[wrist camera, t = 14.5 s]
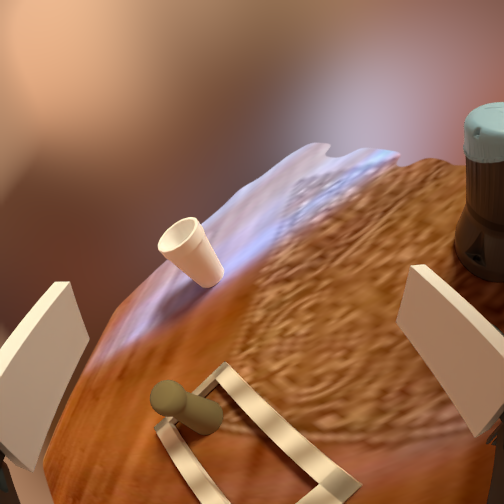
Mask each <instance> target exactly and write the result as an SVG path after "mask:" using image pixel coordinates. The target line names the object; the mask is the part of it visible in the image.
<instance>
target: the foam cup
mask: <svg viewBox="0 0 504 504" xmlns="http://www.w3.org/2000/svg"><path fill="white" fill-rule="evenodd" d="M158 249H159V251H160V252H161V253H162V254H163V256H164V257H165V258H166V259H168V260H170V261H171V262H172V263H173V264H175V265H176V266H177V267H178V268H179V269H180V270H182V271H183V272H184V273H185V274H186V275H188V276H189V277H190V278H191V279H192V280H194V281H195V282H196V283H197V284H198V285H200V286H201V287H203V288H210V287H212V286H214V285H216V284H217V283H218V282H219V281H220V280H221V279H222V277H223V275H224V269H223V267H222V265H221V263H220V261H219V259H218V257H217V256H216V254H215V252H214V250H213V248H212V246H211V244H210V243H209V241H208V239H207V237H206V235H205V233H204V230H203V227H202V226H201V224H200V223H199V222H198V220H197V219H196V218H192V217H189V218H185V219H182V220H180V221H179V222H177V223H175V224H174V225H172V226H171V227H170V228H169V229H168V230H166V232H165V233H164V234H163V236H162V237H161V238H160V241H159V243H158Z"/></svg>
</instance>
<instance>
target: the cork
mask: <svg viewBox="0 0 504 504" xmlns="http://www.w3.org/2000/svg"><path fill="white" fill-rule="evenodd" d="M150 403H151V406H152V407H153V409H154V410H155V411H156V412H157V413H158V414H160V415H162V416H166V417H174V418H175V419H177V420H178V421H180V422H181V423H183V424H184V425H186V426H187V427H189V428H190V429H192V430H193V431H195V432H197V433H198V434H201V435H209V434H211V433H214V432H215V431H216V430H217V429H218V428H219V427H220V425H221V423H222V420H223V411H222V408H221V406H220V405H219V404H218V403H216V402H215V401H212V400H209V399H206V398H203V397H200V396H197V395H194V394H192V393H189V392H186V391H185V389H184V388H183V387H182V386H181V385H180V384H178V383H177V382H175V381H172V380H164V381H161V382H159V383H157V384H156V385H155V386H154V388H153V389H152V391H151V394H150Z"/></svg>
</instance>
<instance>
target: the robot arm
mask: <svg viewBox="0 0 504 504" xmlns="http://www.w3.org/2000/svg"><path fill="white" fill-rule="evenodd" d="M463 149H464V154H465V155H466V205H465V207H464V210H463V212H462V214H461V217H460V219H459V221H458V224H457V227H456V231H455V249H456V253H457V256H458V258H459V259H460V261H461V263H462V264H463V265H464V266H465V267H466V268H467V269H468V270H469V271H470V272H471V273H473V274H474V275H476V276H478V277H480V278H482V279H484V280H488V281H492V282H504V102H496V103H490V104H486V105H482V106H480V107H478V108H476V109H474V110H473V111H472V112H470V113H469V115H468V116H467V117H466V119H465V122H464V146H463ZM396 323H397V325H398V326H399V327H400V329H401V330H402V331H403V333H404V334H405V335H406V337H407V338H408V339H409V341H410V342H411V343H412V345H413V346H414V347H415V349H416V350H417V352H418V353H419V354H420V356H421V357H422V358H423V360H424V361H425V363H426V364H427V366H428V367H429V368H430V370H431V371H432V373H433V374H434V376H435V377H436V378H437V380H438V381H439V383H440V384H441V386H442V387H443V389H444V390H445V392H446V393H447V395H448V396H449V398H450V399H451V401H452V402H453V404H454V405H455V407H456V408H457V410H458V412H459V413H460V415H461V416H462V418H463V419H464V421H465V423H466V424H467V426H468V428H469V429H470V431H471V432H472V434H473V436H474V437H475V438H476V437H477V436H479V435H481V434H482V433H484V432H486V431H487V430H489V429H490V428H491V427H492V426H493V424H494V423H495V422H496V421H497V420H498V418H500V419H501V421H502V422H501V424H500V425H499V426H498V427H497V428H496V429H495V431H494V432H493V433H492V434H491V435H490V436H489V437H488V439H487V442H486V444H489V443H490V442H491V441H492V440H493V439H494V437H495V436H496V435H497V438H496V439H495V440H494V441H493V443H492V445H496V452H495V460H494V468H493V474H492V480H491V485H490V490H489V495H488V500H487V504H504V334H503V333H502V332H501V331H500V330H499V329H498V328H497V327H496V326H494V325H493V324H491V323H489V322H488V321H487V320H486V319H485V318H484V317H483V316H482V315H481V314H480V313H479V312H478V311H477V310H476V309H475V308H474V307H473V306H472V305H470V304H469V303H468V302H467V301H466V300H465V299H464V298H463V297H462V296H461V295H460V294H458V293H457V292H456V291H455V290H454V289H453V288H452V287H450V286H449V285H448V284H447V283H446V282H445V281H444V280H442V279H441V278H440V277H439V276H438V275H437V274H435V273H434V272H433V271H432V270H431V269H429V268H428V267H427V266H426V265H425V264H424V265H413V266H410V270H409V274H408V278H407V282H406V286H405V290H404V294H403V298H402V302H401V306H400V309H399V313H398V316H397V320H396ZM88 341H89V336H88V334H87V331H86V328H85V326H84V323H83V320H82V317H81V314H80V312H79V309H78V306H77V303H76V300H75V297H74V294H73V290H72V287H71V284H70V282H54V284H53V285H52V286H51V287H50V288H49V289H48V290H47V291H46V293H45V294H44V295H43V296H42V297H41V298H40V299H39V301H38V302H37V303H36V304H35V305H34V307H33V308H32V309H31V310H30V311H29V313H28V314H27V315H26V316H25V318H24V319H23V320H22V321H21V323H20V324H19V325H18V327H17V328H16V329H15V330H14V332H13V333H12V334H11V336H10V337H9V338H8V339H7V341H6V342H5V344H4V345H3V346H2V348H1V349H0V504H20V501H19V499H18V496H17V493H16V490H15V487H14V484H13V481H12V478H11V475H10V472H9V469H8V466H7V464H6V463H5V462H4V461H3V459H4V457H5V456H6V457H8V458H9V459H10V460H11V461H12V462H13V463H14V464H15V465H17V466H19V467H21V468H23V469H26V470H29V471H31V472H34V469H35V465H36V462H37V459H38V457H39V454H40V451H41V448H42V445H43V442H44V440H45V437H46V435H47V432H48V430H49V427H50V424H51V422H52V419H53V417H54V415H55V412H56V410H57V407H58V405H59V403H60V400H61V398H62V396H63V393H64V391H65V389H66V387H67V385H68V382H69V380H70V378H71V376H72V374H73V372H74V369H75V367H76V365H77V363H78V361H79V359H80V357H81V355H82V353H83V351H84V349H85V347H86V345H87V343H88Z"/></svg>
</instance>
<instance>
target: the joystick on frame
mask: <svg viewBox="0 0 504 504" xmlns="http://www.w3.org/2000/svg"><path fill="white" fill-rule="evenodd" d="M219 383H220V384H221V386H222V387H223V388H224V389H225V390H226V391H227V393H228V394H229V395H230V396H231V397H232V398H233V399H234V400H235V401H236V403H237V404H238V405H239V406H240V407H241V408H242V409H243V410H244V411H245V412H246V413H247V415H248V416H249V417H250V418H251V419H252V420H253V421H254V422H255V423H256V424H257V425H258V426H259V427H260V428H261V429H262V430H263V431H264V432H265V433H266V434H267V435H268V436H269V437H270V438H271V439H272V440H273V441H274V442H275V443H276V444H277V445H278V446H279V447H280V448H281V449H282V450H283V451H284V452H285V453H286V454H287V455H288V456H289V457H290V458H291V459H292V460H293V461H294V462H296V463H297V464H298V465H299V466H300V467H301V468H302V469H303V470H304V471H305V472H306V473H308V474H309V475H310V476H311V477H312V478H313V479H314V480H316V481H317V482H318V483H319V484H318V485H317V486H316V487H315V488H314V489H313V490H311V491H310V492H309V493H308V494H307V495H306V496H304V497H303V498H302V499H301V500H300V501H298V502H297V503H296V504H343V503H344V502H345V501H346V500H347V499H348V498H350V497H351V496H352V495H353V494H354V493H355V492H356V491H357V490H358V489H359V488H360V487H361V486H362V485H363V484H361V483H360V482H359V481H357V480H356V479H355V478H353V477H352V476H351V475H349V474H348V473H347V472H346V471H344V470H343V469H342V468H341V467H339V466H338V465H337V464H336V463H334V462H333V461H332V460H331V459H329V458H328V457H327V456H326V455H325V454H323V453H322V452H321V451H320V450H319V449H317V448H316V447H315V446H314V445H313V444H312V443H310V442H309V441H308V440H307V439H306V438H305V437H304V436H302V435H301V434H300V433H299V432H298V431H297V430H296V429H295V428H294V427H292V426H291V425H290V424H289V423H288V422H287V421H286V420H285V419H284V418H283V417H282V416H280V415H279V414H278V413H277V412H276V411H275V410H274V409H273V408H272V407H271V406H270V405H269V404H268V403H267V402H266V401H265V400H264V399H263V398H262V397H261V396H260V395H259V394H258V393H256V392H255V391H254V390H253V389H252V388H251V387H250V386H249V385H248V384H247V383H246V382H245V380H244V379H243V378H242V377H241V376H240V375H239V374H238V373H237V372H236V371H235V370H234V369H233V368H232V367H231V366H230V365H229V364H228V363H226V362H225V361H224V362H223V363H222V364H221V365H220V366H219V367H218V368H217V369H216V370H215V371H214V372H213V373H212V374H211V375H210V376H209V377H208V378H207V379H206V380H205V381H204V382H203V383H202V384H201V385H200V386H199V387H197V388H196V389H195V390H194V391H193V392H192V394H194V395H197V396H200V397H203V398H204V397H205V396H206V395H207V394H208V393H209V392H210V391H211V390H212V389H213V388H215V387H216V386H217V385H218V384H219ZM177 422H178V420H177V419H175V418H174V417H165V418H164V419H163V420H162V421H160V422H159V423H158V424H157V425H156V426H155V427H154V429H155V431H156V433H157V434H158V436H159V438H160V440H161V442H162V443H163V445H164V447H165V448H166V450H167V452H168V454H169V455H170V457H171V458H172V460H173V462H174V463H175V465H176V467H177V468H178V470H179V471H180V473H181V474H182V476H183V477H184V479H185V480H186V482H187V483H188V485H189V486H190V488H191V489H192V491H193V492H194V494H195V495H196V496H197V498H198V499H199V501H200V502H201V503H202V504H231V503H230V502H229V501H228V499H227V498H226V497H225V496H224V494H223V493H222V492H221V491H220V489H219V488H218V487H217V486H216V484H215V483H214V482H213V480H212V479H211V478H210V476H209V475H208V474H207V472H206V471H205V470H204V468H203V467H202V466H201V464H200V463H199V461H198V460H197V458H196V457H195V456H194V454H193V453H192V451H191V450H190V448H189V447H188V445H187V444H186V442H185V441H184V439H183V438H182V436H181V435H180V433H179V432H178V430H177V428H176V427H175V425H174V424H175V423H177Z"/></svg>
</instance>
